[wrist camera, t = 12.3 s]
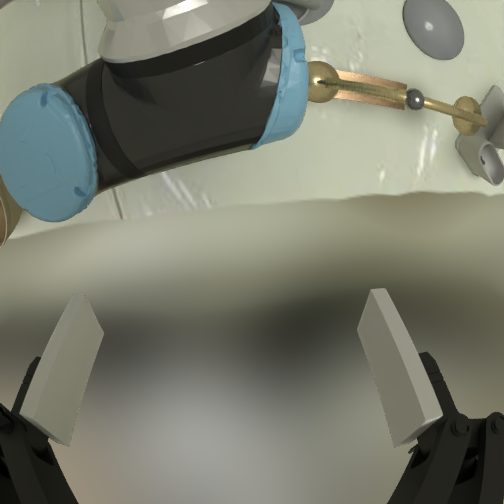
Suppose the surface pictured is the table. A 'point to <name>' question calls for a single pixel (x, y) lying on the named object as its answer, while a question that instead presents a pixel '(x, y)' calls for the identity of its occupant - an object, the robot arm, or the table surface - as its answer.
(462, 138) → the phone holder
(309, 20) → the dish low side
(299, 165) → the table surface
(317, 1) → the ceramic mug
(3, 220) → the planter bowl
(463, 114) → the balance
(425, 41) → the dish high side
